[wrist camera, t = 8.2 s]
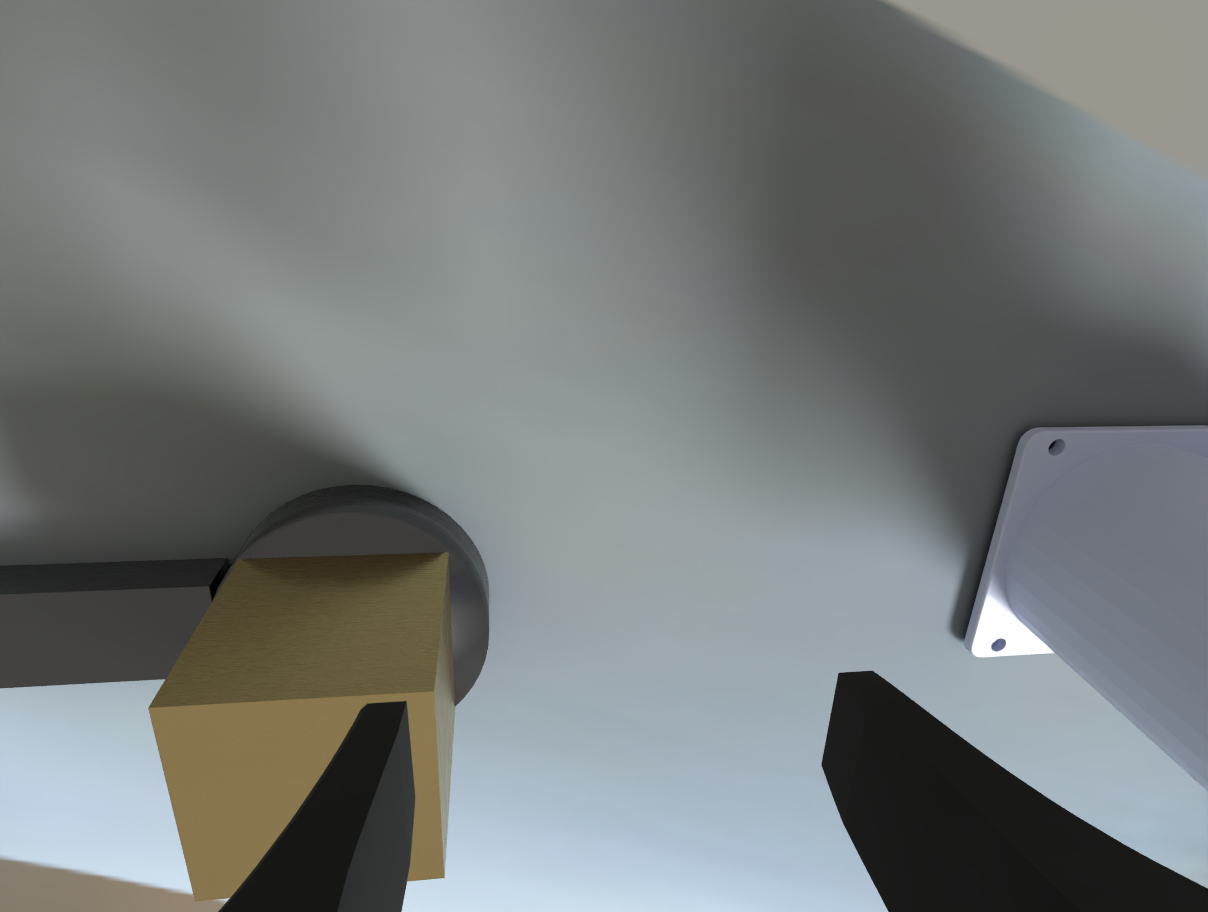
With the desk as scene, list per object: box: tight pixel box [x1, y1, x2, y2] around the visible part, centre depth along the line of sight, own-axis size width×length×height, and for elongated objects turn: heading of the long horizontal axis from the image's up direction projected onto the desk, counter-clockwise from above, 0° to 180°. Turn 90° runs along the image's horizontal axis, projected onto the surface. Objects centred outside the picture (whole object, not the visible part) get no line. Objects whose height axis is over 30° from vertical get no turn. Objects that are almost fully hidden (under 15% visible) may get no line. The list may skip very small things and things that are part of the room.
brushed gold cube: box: [148, 552, 455, 901], centre depth 17 cm, size 5×5×5 cm
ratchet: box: [0, 485, 489, 706], centre depth 18 cm, size 19×7×4 cm, turn 87°
